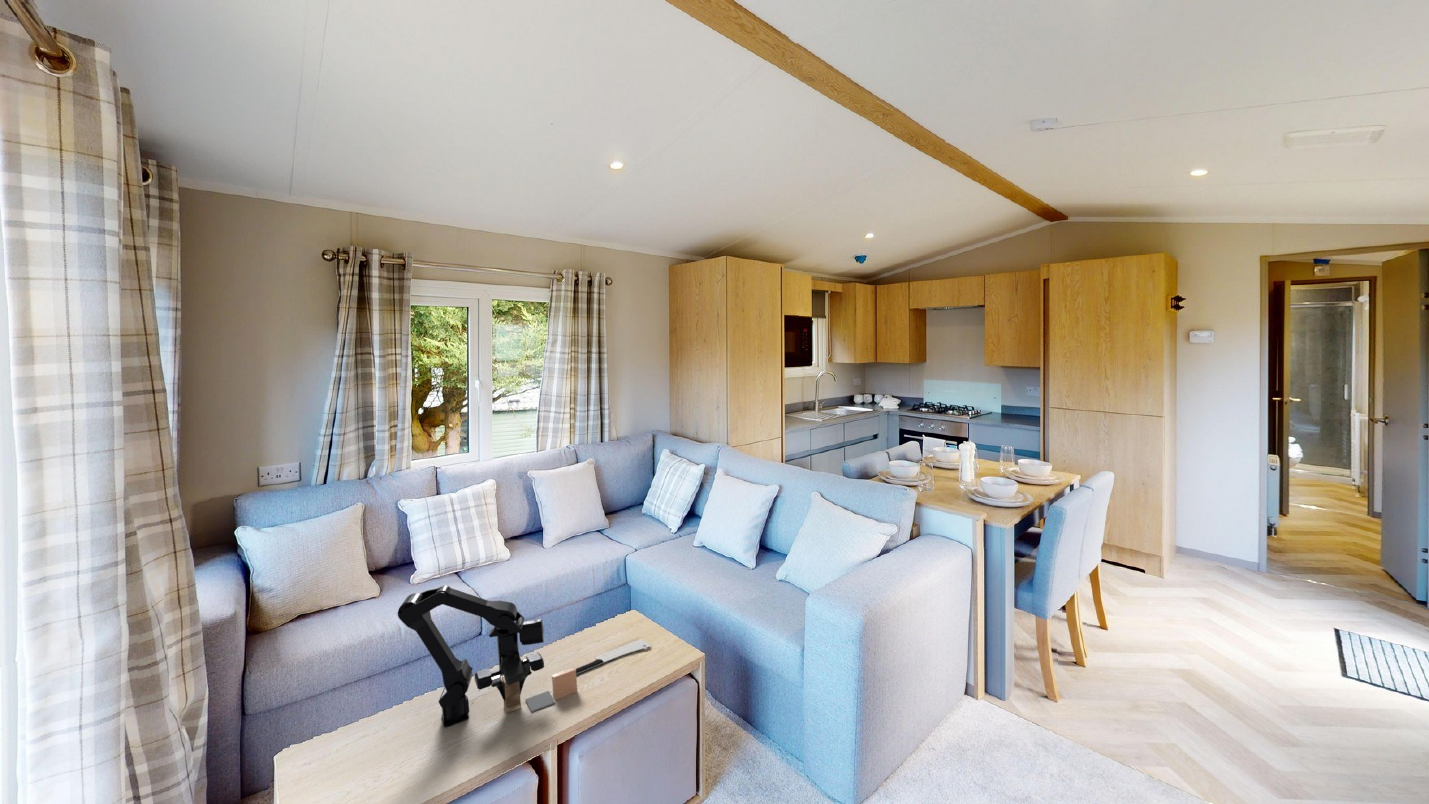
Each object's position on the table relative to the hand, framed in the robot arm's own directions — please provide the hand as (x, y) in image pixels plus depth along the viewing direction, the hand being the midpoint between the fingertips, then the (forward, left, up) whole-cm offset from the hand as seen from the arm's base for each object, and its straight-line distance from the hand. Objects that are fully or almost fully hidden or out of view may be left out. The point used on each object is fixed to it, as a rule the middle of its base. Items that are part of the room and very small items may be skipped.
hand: (511, 697), depth 161 cm
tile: (+15, -3, -3) cm, 16 cm away
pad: (+8, -2, -3) cm, 8 cm away
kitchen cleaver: (+33, +9, -4) cm, 34 cm away
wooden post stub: (0, 0, -3) cm, 3 cm away
